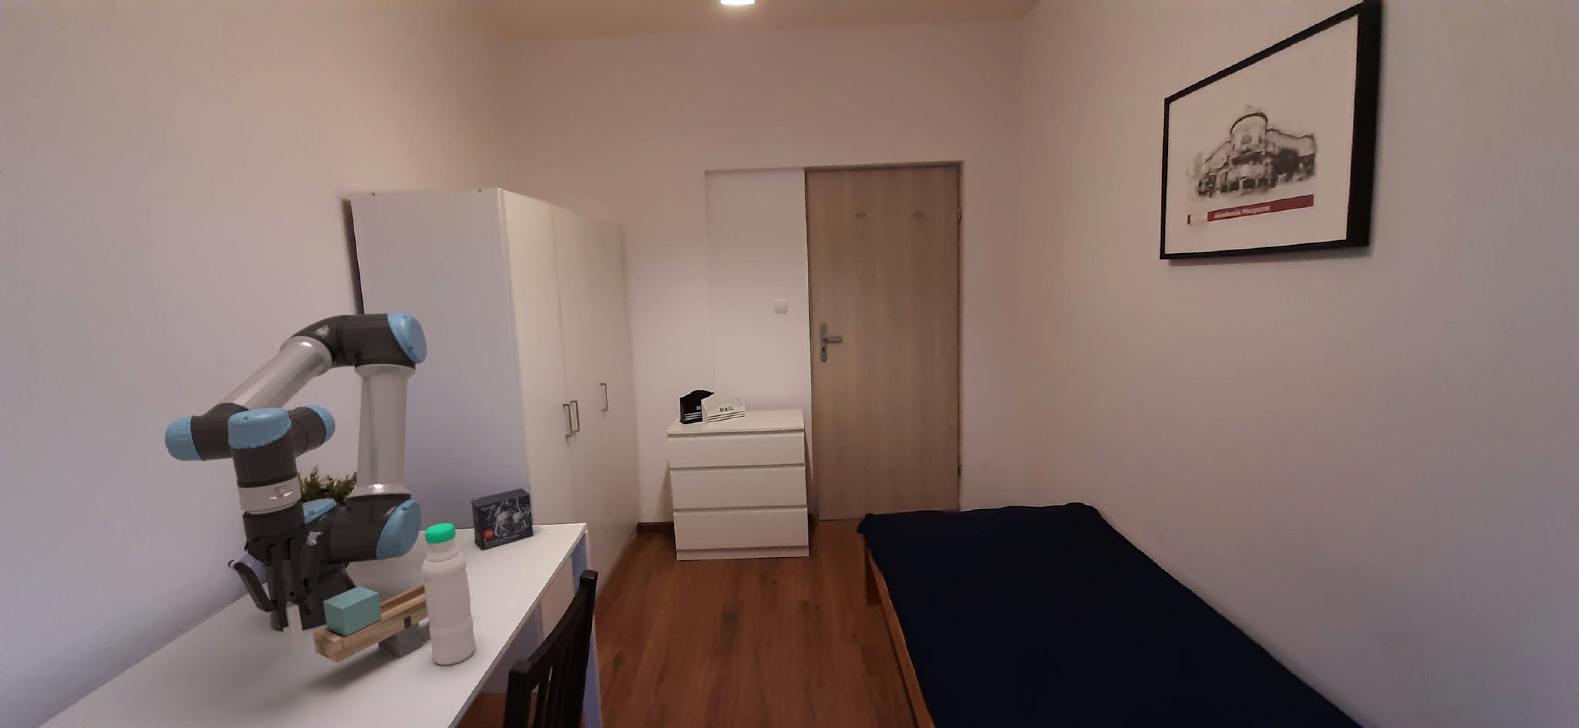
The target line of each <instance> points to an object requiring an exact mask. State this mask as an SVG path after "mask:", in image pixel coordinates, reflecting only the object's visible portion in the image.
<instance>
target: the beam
mask: <svg viewBox="0 0 1579 728" xmlns="http://www.w3.org/2000/svg"><path fill="white" fill-rule="evenodd" d="M380 608H381V616H382V619H381V620H379V621H376V622H374V623H372V624H370V625H368V626H366V627H364V628H362V629H360V630H358V631H356V632H354V633H352V634H349V635H347V636H343V637H340V636H337V635H335V633H334V631H333V630H331V629H329V628H327V627H325V628H321V627H319V628H317V629H315V630H312V636H313V641H314V647H315V648H314V649H315V653H316V654H318V655H320V656H321V657H325V658H327V659H328V660H331V661H333V662H334V663H337V664H339V663H341V662H342V661H345V660H347V659H348V658H351V657H353V656H354V655H356V654H359V653H361V652H362V651H364V650H366V649H368V648H371V647H373V646H375V645H376V644H378V649H380V650H382V651H383V652H387V653H388V654H391V655H393V656H396V657H398V658H400V659H401V658H403V657H405V656H408V655H409V654H410V653H412V652H414V651H416V650H418V649H420V648H422V647H423V645H422V637H421V636H422V635H421V629H420V628H421V627H420V622H422V621H424V620H425V619H427V618H429V617H428V612H427V606H426V598H425V588H424V582H423V583H421V584H419V585H417V586H415V587H412V588H411V589H408V590H406V591H404V592H402V593H399V594H398V595H395V596H393V597H391V598H389V599H387V600H384V601H382V602H380Z"/></svg>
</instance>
